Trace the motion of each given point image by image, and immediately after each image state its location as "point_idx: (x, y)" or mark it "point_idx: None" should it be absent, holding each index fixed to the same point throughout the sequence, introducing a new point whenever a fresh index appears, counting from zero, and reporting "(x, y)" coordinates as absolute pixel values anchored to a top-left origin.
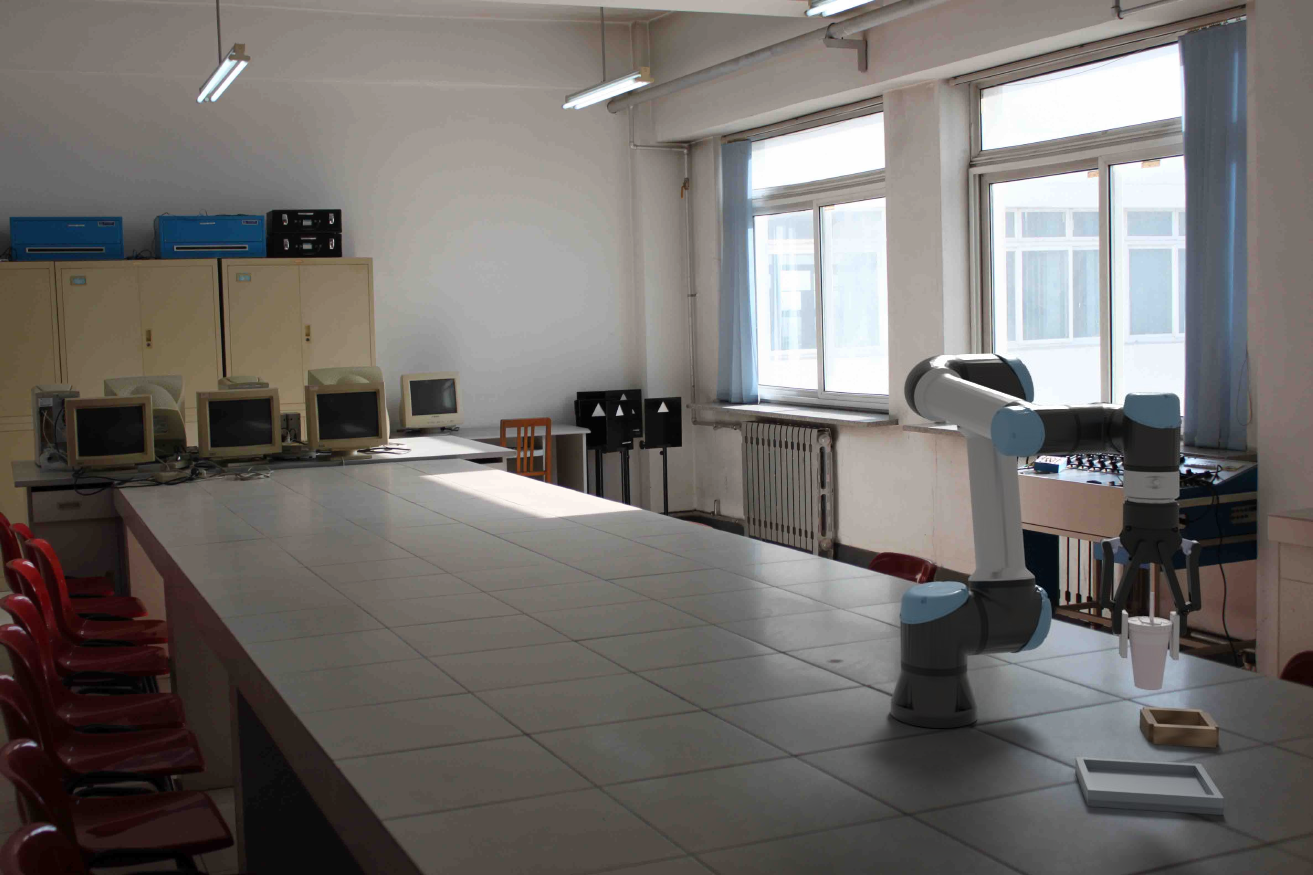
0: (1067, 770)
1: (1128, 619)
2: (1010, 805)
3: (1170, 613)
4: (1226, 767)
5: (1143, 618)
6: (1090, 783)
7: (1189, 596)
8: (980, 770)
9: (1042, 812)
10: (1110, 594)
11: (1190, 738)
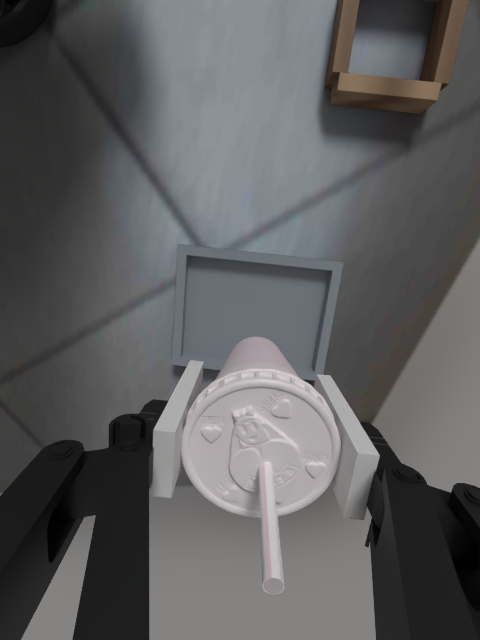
0: (173, 239)
1: (193, 425)
2: (93, 360)
3: (353, 455)
4: (392, 210)
5: (247, 432)
6: (178, 344)
7: (478, 541)
8: (62, 248)
9: (125, 377)
10: (57, 566)
11: (387, 104)
